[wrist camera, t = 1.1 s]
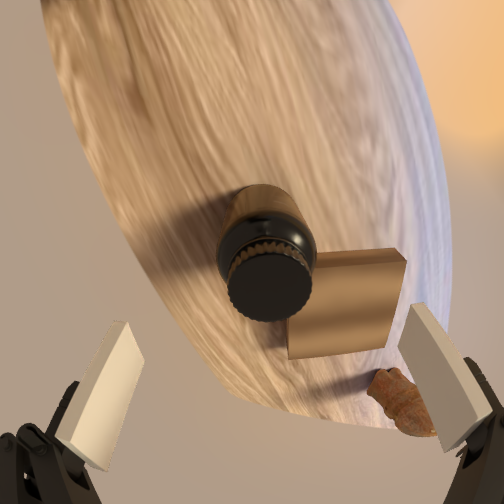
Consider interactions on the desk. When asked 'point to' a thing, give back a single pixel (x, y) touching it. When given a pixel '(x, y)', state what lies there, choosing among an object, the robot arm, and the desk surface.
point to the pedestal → (347, 304)
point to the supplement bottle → (266, 254)
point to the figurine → (402, 403)
